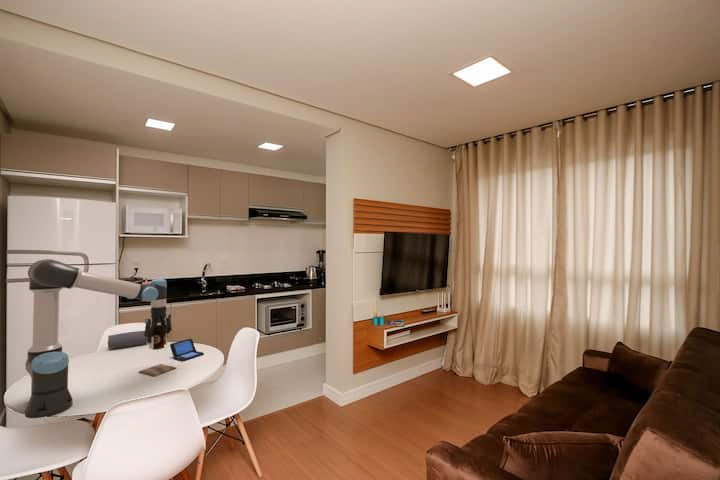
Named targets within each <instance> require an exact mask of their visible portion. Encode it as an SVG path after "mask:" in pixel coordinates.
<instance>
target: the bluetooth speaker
mask: <svg viewBox="0 0 720 480" xmlns="http://www.w3.org/2000/svg"><path fill="white" fill-rule="evenodd" d="M144 333H145V330H140V331H139V330H137V331H128V332H123V333H116V334H111V335H108V336H107V337H108V338H107V347H108V349H115V348H117V349H118V348H119V349H126V348H127V349H128V348H133V347H137V346H138V345H142V344H146V343H148V337H145V336H144Z"/></svg>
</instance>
